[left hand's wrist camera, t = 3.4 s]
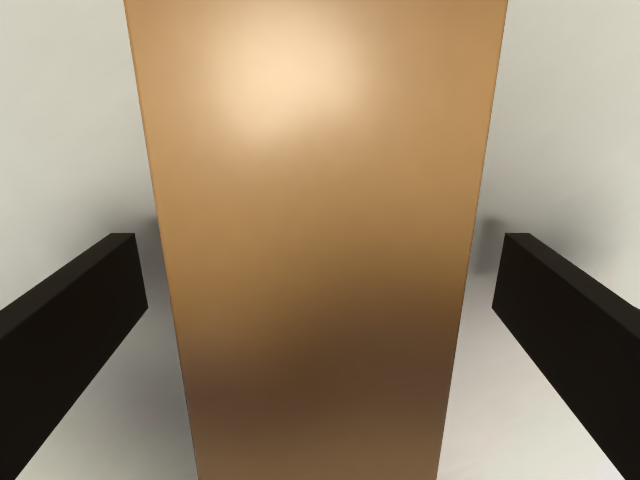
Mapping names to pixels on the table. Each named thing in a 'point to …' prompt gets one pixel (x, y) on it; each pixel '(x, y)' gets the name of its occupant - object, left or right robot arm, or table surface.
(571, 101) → the table surface
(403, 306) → the bar
